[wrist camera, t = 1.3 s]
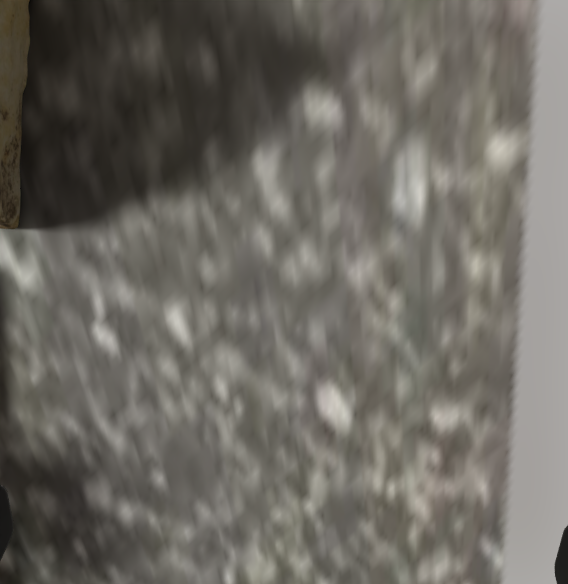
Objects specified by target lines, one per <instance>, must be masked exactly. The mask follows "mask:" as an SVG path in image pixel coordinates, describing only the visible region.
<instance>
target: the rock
mask: <svg viewBox="0 0 568 584" xmlns="http://www.w3.org/2000/svg"><path fill="white" fill-rule="evenodd" d="M29 1H30V0H0V228H3V229H15V228H17V227H18V223H19V215H20V197H21V191H20V172H19V166H20V154H21V137H22V128H21V114H22V97H23V91H24V89H25V87H26V83H27V70H28V69H27V56H28V50H29V46H30V36H29V19H30V16H29V12H28V4H29Z"/></svg>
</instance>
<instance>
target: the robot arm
mask: <svg viewBox="0 0 568 584" xmlns="http://www.w3.org/2000/svg"><path fill="white" fill-rule="evenodd" d="M12 533H13V519H12V514H11V509H10V504H9V499H8V494H7V490H6V489H5V487H4V486H2V485H0V561H1V559H2V556H3V554H4V552H5V550H6V548H7V546H8V544H9V541H10V539H11V536H12ZM555 577H556V581H557V584H568V526H567V527H566V528H565V530H564V532H563V535H562V539H561V543H560V547H559V550H558V554H557V558H556V561H555Z"/></svg>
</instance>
